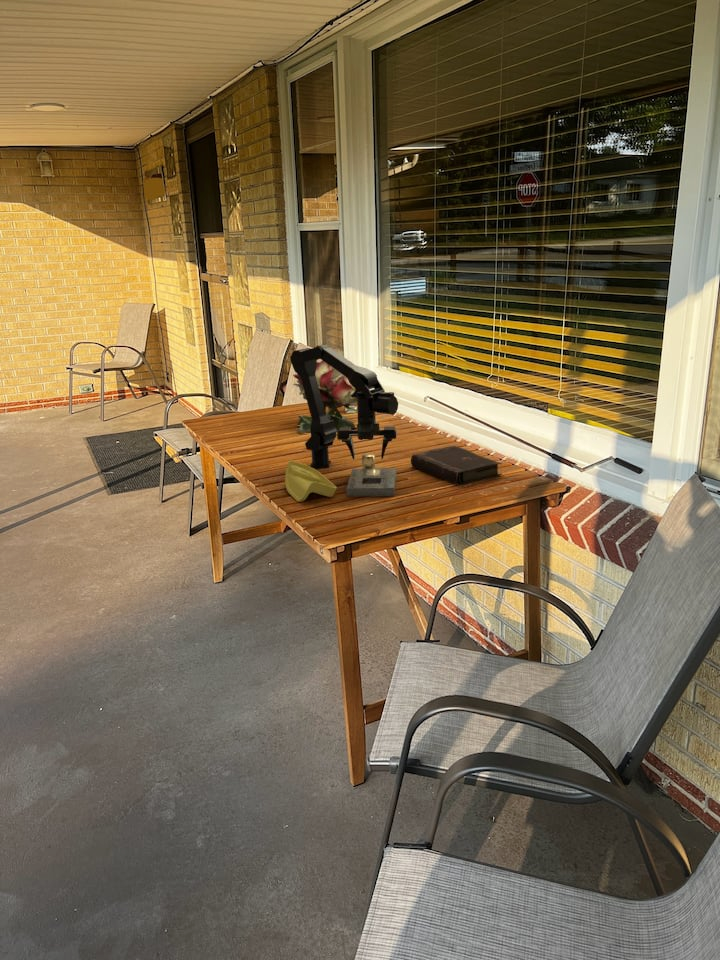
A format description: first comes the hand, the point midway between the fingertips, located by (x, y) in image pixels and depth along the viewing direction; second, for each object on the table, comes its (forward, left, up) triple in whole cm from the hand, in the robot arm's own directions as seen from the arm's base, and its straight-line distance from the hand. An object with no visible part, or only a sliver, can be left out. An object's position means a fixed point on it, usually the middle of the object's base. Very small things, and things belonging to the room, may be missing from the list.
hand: (367, 458), depth 234 cm
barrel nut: (0, 0, -5) cm, 5 cm away
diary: (-1, +28, -5) cm, 29 cm away
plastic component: (+17, -17, -5) cm, 25 cm away
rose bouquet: (-68, -22, -5) cm, 72 cm away
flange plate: (+13, +2, -5) cm, 14 cm away
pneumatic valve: (-92, -14, -5) cm, 93 cm away
